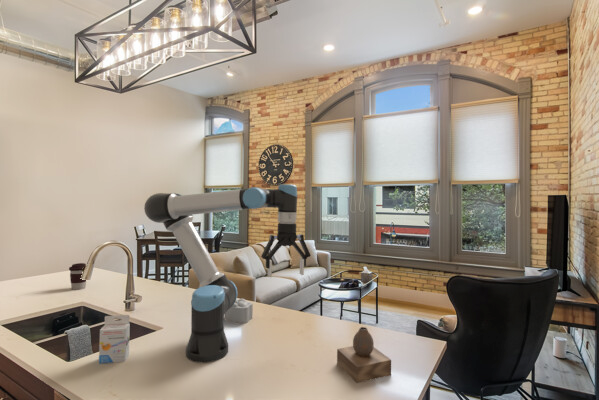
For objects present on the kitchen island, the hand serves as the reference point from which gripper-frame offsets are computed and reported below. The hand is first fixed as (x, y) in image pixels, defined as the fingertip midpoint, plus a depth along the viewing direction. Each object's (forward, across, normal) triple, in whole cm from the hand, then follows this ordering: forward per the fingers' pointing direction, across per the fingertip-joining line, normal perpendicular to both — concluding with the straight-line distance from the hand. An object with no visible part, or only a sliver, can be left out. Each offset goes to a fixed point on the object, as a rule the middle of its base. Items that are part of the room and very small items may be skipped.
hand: (285, 275), depth 131 cm
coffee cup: (+28, -96, +112) cm, 151 cm away
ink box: (+27, -61, +6) cm, 67 cm away
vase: (+21, +18, -29) cm, 41 cm away
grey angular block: (+27, -13, +30) cm, 43 cm away
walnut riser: (+26, +18, -29) cm, 43 cm away
